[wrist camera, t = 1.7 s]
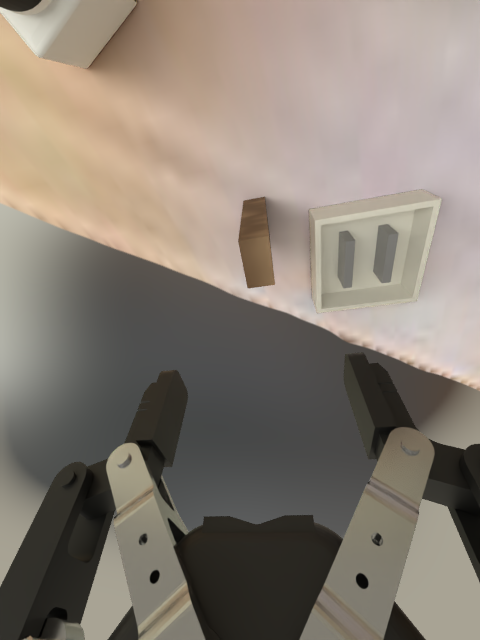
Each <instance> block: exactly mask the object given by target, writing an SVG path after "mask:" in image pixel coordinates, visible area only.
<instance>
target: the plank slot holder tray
mask: <svg viewBox="0 0 480 640" xmlns="http://www.w3.org/2000/svg"><path fill="white" fill-rule="evenodd" d="M441 201H442V199H441V198H439V197H437V196H435V195H433V194H431V193H429V192H427V191H424V190H422V189H421V190H415V191H409V192H404V193H398V194H392V195H387V196H381V197H375V198H370V199H364V200H358V201H353V202H347V203H341V204H336V205H330V206H324V207H319V208H313V209H309V230H310V260H311V290H312V299H313V302H314V306H315V309H316V312H317V313H324V312H332V311H340V310H349V309H357V308H365V307H374V306H382V305H390V304H398V303H407V302H415V301H417V299H418V295H419V291H420V287H421V282H422V278H423V274H424V270H425V266H426V262H427V258H428V254H429V250H430V246H431V242H432V238H433V234H434V229H435V225H436V221H437V217H438V213H439V209H440V205H441Z"/></svg>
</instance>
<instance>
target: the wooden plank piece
mask: <svg viewBox="0 0 480 640" xmlns="http://www.w3.org/2000/svg"><path fill="white" fill-rule="evenodd" d="M238 242H239V247H240V252H241V257H242V262H243V267H244V272H245V277H246V282H247V287H248V288H254V287H261V286H268V285H275V281H274V272H273V263H272V254H271V245H270V236H269V228H268V220H267V212H266V204H265V197H261V198H256V199H251V200H245V201H244V202H243V209H242V217H241V225H240V232H239V240H238Z"/></svg>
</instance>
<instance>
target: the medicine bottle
mask: <svg viewBox="0 0 480 640" xmlns="http://www.w3.org/2000/svg"><path fill="white" fill-rule="evenodd" d="M136 4H137V0H0V13H1V14H2V15H3V16H4V18H5V19H6V20H7V21H8V22H9V24H10V25H11V26H12V27H13V28H14V30H15V31H16V32H17V33H18V34H19V36H20V37H21V38H22V39H23V40H24V42H25V43H26V44H27V45H28V47H29V48H30V49H31V50H32V51H33V53H34V54H35V55H36V56H38V57H40V58H44V59H48V60H52V61H56V62H60V63H64V64H68V65H72V66H76V67H80V68H84V69H87V68H88V67H89V66H90V65H91V63H92V62H93V61H94V59H95V58H96V57H97V55H98V54H99V53H100V52H101V50H102V49H103V48H104V46H105V45H106V44H107V42H108V41H109V40H110V39H111V37H112V36H113V35H114V33H115V32H116V31H117V29H118V28H119V27H120V25H121V24H122V23H123V22H124V20H125V19H126V18H127V16H128V15H129V14H130V12H131V11H132V10H133V9H134V7H135V6H136Z"/></svg>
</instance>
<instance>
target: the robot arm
mask: <svg viewBox="0 0 480 640" xmlns="http://www.w3.org/2000/svg"><path fill="white" fill-rule="evenodd" d="M344 384H345V388H346V391H347V395H348V398H349V401H350V404H351V407H352V410H353V413H354V416H355V419H356V422H357V426H358V429H359V431H360V435H361V438H362V441H363V444H364V447H365V450H366V453H367V456H368V459H377V465H376V467H375V470H374V472H373V474H372V477H371V479H370V481H369V482H368V483H367V486H366V488H365V490H364V492H363V494H362V497H361V499H360V501H359V504H358V506H357V508H356V511H355V513H354V516H353V518H352V520H351V522H350V525H349V527H348V530H347V532H346V534H345V537H344V539H342V538H341V537H340V536H339V535H338V534H336V533H335V532H333V531H332V530H330V529H329V528H327V527H325V526H323V525H320V524H318V523H314V520H313V515H297V516H296V515H293V516H292V515H291V516H282V517H279V518H276V519H273V520H270V521H267V522H264V523H262V524H252V523H249V522H246V521H243V520H240V519H236V518H233V517H230V516H225V517H224V516H219V517H218V516H216V517H204V522H203V525H201V526H199V527H197V528H195V529H193V530H192V531H190V532H189V533H188V531H187V528H186V527H185V525H184V523H183V521H182V520H181V518H180V516H179V514H178V512H177V510H176V508H175V505H174V503H173V500H172V498H171V496H170V494H169V491H168V489H167V486H166V484H165V482H164V479H163V477H162V471H163V467H172V464H173V461H174V456H175V452H176V448H177V443H178V439H179V435H180V430H181V426H182V422H183V418H184V413H185V409H186V405H187V400H188V393H187V389H186V387H185V385H184V382H183V380H182V378H181V376H180V374H179V372H178V371H177V370H171V371H162V372H161V373H160V375H159V377H158V380H157V383H152V384H151V385H150V386H149V387H148V389H147V390H146V391H145V392H144V395H143V397H142V400H141V404H140V405H139V408H138V411H137V413H136V416H135V418H134V420H133V423H132V426H131V428H130V431H129V433H128V436H127V438H126V441H125V443H124V444H123V445H121V446H119V447H118V448H116V449H115V451H113V452H112V454H111V455H110V457H109V458H108V459H106V460H103V461H101V462H98V463H96V464H93V465H91V466H88V467H87V466H86V465H85V464H83V463H81V462H74V463H71V464H69V465H68V466H66V467H65V468H63V469H62V470H61V471H60V472H59V473H58V474H57V476H56V477H55V479H54V480H53V482H52V484H51V486H50V488H49V490H48V492H47V494H46V496H45V498H44V500H43V502H42V504H41V506H40V508H39V510H38V512H37V514H36V516H35V518H34V520H33V522H32V524H31V526H30V529H29V530H28V532H27V534H26V536H25V538H24V540H23V542H22V545H21V546H20V548H19V551H18V553H17V554H16V556H15V559H14V560H13V562H12V564H11V566H10V569H9V571H8V573H7V575H6V577H5V579H4V581H3V583H2V585H1V587H0V640H85V638H84V631H83V629H82V627H81V625H80V623H81V620H82V617H83V614H84V610H85V607H86V603H87V600H88V596H89V594H90V590H91V587H92V584H93V581H94V577H95V574H96V570H97V567H98V564H99V561H100V557H101V554H102V551H103V548H104V544H105V541H106V538H107V534H108V531H109V528H110V525H111V521H112V518H113V515H114V511H115V510H117V516H115V517H114V528H115V532H116V537H117V541H118V545H119V550H120V554H121V558H122V562H123V567H124V571H125V575H126V579H127V584H128V587H129V592H130V596H131V600H132V607H131V608H130V610H129V611H128V612H127V614H126V615H125V616H124V618H123V619H122V621H121V622H120V623H119V625H118V626H117V627H116V629H115V630H114V632H113V633H112V635H111V636H110V637H109V639H108V640H426V639H425V638H424V637H423V636H422V635H421V633H420V632H419V631H418V630H417V628H416V627H415V626H414V625H413V623H412V622H411V621H410V620H409V619H408V617H407V616H406V615H405V614H404V612H403V611H402V610H401V609H400V608H399V606H398V605H397V604H396V602H395V601H394V600H395V597H396V593H397V590H398V586H399V583H400V579H401V576H402V572H403V569H404V566H405V562H406V559H407V555H408V552H409V548H410V545H411V541H412V538H413V534H414V531H415V528H416V524H417V520H418V515H419V506H420V503H421V500H422V499H425V500H429V501H432V502H435V503H438V504H442V505H445V506H447V507H448V509H449V511H450V514H451V516H452V518H453V521H454V523H455V525H456V527H457V530H458V532H459V535H460V537H461V539H462V542H463V544H464V546H465V549H466V551H467V553H468V556H469V558H470V560H471V563H472V565H473V567H474V570H475V572H476V574H477V577H478V579H479V582H480V444H474V445H471V446H469V447H468V448H467V449H466V450H464V449H460V448H456V447H451V446H447V445H443V444H439V443H437V442H434V441H432V440H430V439H428V438H427V437H426V436H425V435H424V434H422V433H421V432H420V431H419V430H418V429H417V428H416V427H415V425H414V423H413V421H412V419H411V417H410V415H409V413H408V411H407V409H406V408H405V405H404V404H403V402H402V400H401V398H400V396H399V394H398V393H397V390H396V388H395V386H394V384H393V382H392V380H391V378H390V376H389V374H388V372H387V371H386V370H385V369H384V368H383V367H382V366H381V365H379V364H378V363H372V364H369V363H368V360H367V359H366V356H365V354H364V353H363V352H361V353H351V354H346V355H345V365H344Z"/></svg>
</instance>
